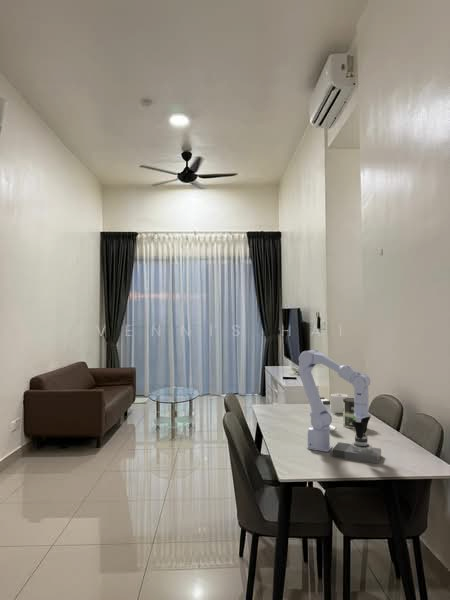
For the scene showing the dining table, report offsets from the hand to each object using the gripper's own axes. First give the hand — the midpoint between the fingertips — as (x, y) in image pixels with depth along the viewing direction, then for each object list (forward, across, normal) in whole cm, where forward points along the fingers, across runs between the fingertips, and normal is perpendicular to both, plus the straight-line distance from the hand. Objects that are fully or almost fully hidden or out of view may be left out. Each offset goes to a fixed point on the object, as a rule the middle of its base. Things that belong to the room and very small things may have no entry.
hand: (361, 435), depth 178 cm
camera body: (+9, 0, +2) cm, 9 cm away
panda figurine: (+9, +38, +26) cm, 47 cm away
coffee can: (+9, +48, +13) cm, 51 cm away
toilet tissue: (+9, +78, +27) cm, 83 cm away
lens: (+6, 0, 0) cm, 6 cm away
